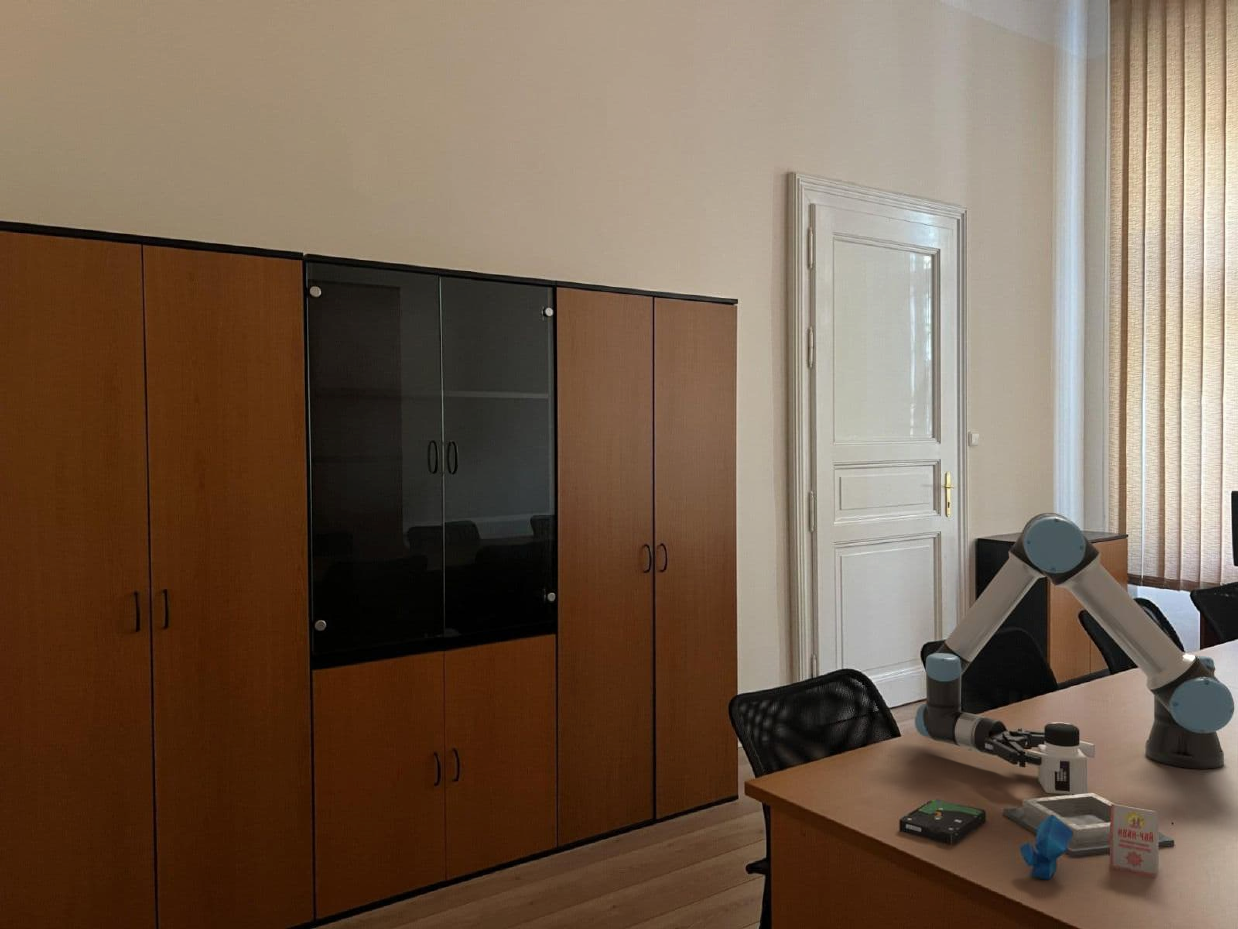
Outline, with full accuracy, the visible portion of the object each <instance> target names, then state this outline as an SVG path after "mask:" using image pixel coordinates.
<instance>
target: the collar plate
mask: <svg viewBox="0 0 1238 929" xmlns="http://www.w3.org/2000/svg"><path fill="white" fill-rule="evenodd" d="M1111 804H1115V802H1112V801H1110V800H1108V799H1106V798H1104V797H1102V796H1100V795H1098V794H1096V793H1095V792H1087V793H1086V794H1076V795H1072V794H1065V795H1059V796H1048V797H1037V798H1036V797H1035V798H1025V799H1022V807H1015V808H1005V809H1004V808H1003V809H1002V810H1003V811H1002V813H1003V814H1002V815H1004V816H1005V817H1007V818H1008V819H1010V820H1012V821H1013V822H1015V823H1016V824H1018V825H1019V826H1021V827H1022V828H1025V830H1027V831H1030V832H1032V833H1033V834H1034V835H1036V836H1037V830H1038V826H1039V825H1040V824H1041V823H1042V822H1043V821H1044V820H1046V819H1047V818H1048V817H1049V816H1050V815H1054V816H1055V817H1057V818H1058V819H1059V820H1060V821H1061V822H1062V823H1064V824H1065V825H1066V826H1067V827H1068V828H1070V829H1071V830H1072V831H1073V835H1072V837H1071V840H1070V842H1069V844H1068V846H1067V848H1066V850H1065V852H1064V854H1065V853H1066V854H1068V855H1069V856H1070V857H1072V858H1077V857H1084V856H1097V855H1105V854H1110V819H1111ZM1158 841H1159V848H1166V847H1167V848H1168V847H1174V846H1175V839H1173V838H1171V837H1170V836H1168V835H1165V834H1163V833H1161V832H1159V831H1158Z"/></svg>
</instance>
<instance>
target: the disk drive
mask: <svg viewBox="0 0 1238 929" xmlns="http://www.w3.org/2000/svg"><path fill="white" fill-rule="evenodd" d="M986 812H987V811H986V810H984V809H980V808H977V807H972V806H968V805H965V804H961V803H953V802H948V801H944V800H940V798H935V799H932V800H929V801H927V802H925V804H923V805H921V806H919V807H918V808H916V809H915V810H913V811H911V812H909V813H907V814H906V815H904V816H902V817H901V818H900V819H899V821H898V823H899V829H898V831H899V832H901V833H904V834H905V833H906V834H909V835H912V836H916V837H918V838H919V837H920V838H922V839H927V840H930V841H934V842H937V843H941V844H945V845H948V846H954V845H956V844H957V843H959V842H960V841H961V840H962V839H963V838H965V837H967V836H968V835H969V834H970V833H972V832H973V831H975V830H977V829H978V828H980V827H981V826H983V825H984V824H985V823H987V822H986V821H987V820H986V819H987V818H986V817H987V814H986Z"/></svg>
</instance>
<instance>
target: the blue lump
mask: <svg viewBox="0 0 1238 929" xmlns="http://www.w3.org/2000/svg"><path fill="white" fill-rule="evenodd" d="M1072 835H1073V831H1072V830H1071V829H1070V828H1068V827H1067V826H1066V825H1065V824H1064V823H1062V822H1061V821H1060V820H1059V819H1058V818H1057V817H1055V816H1054V815H1050V816H1049V817H1048V818H1047V819H1046V820H1044V821H1043V822H1042V823H1041V824H1040V825H1039V826H1038V830H1037V835H1036V838H1035V845H1034V847H1035V849H1034V847H1033V845H1032V843H1030V842H1028V843H1025V844H1022V845H1020V846H1019V851H1020V852H1021V855H1022V857H1023V860H1024V862H1025V863H1026V865H1027V867H1032V876H1033V877H1034V878H1038V879H1041V880H1042V879H1043V880H1046V881H1048V880H1049V879H1051V877H1052V875H1053V874H1054V872H1055V870H1056V869H1057V868H1058V864H1057V862H1058V859H1059V858H1060V857H1061V856H1062V855H1064V854H1065V850H1066V848H1067V846H1068V844H1069V842H1070V840H1071V837H1072Z"/></svg>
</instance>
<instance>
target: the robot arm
mask: <svg viewBox="0 0 1238 929" xmlns="http://www.w3.org/2000/svg"><path fill="white" fill-rule="evenodd" d="M1045 577H1046V578H1048V579H1049V581H1050V582H1051V583H1052V584H1053V585H1054V586H1055V587H1056V588H1057V587H1058V588H1064V589H1067V590H1068V591H1069V592H1070V593H1071V594H1072V595H1073V596H1074V598H1075V599H1076V600H1077V601H1078V602H1079V603H1080V604H1081V605H1082V607H1084V609H1085V610H1086V611H1087V612H1088V613H1089V614H1090V615H1091V617H1093V618H1094V620H1095V621H1096V622H1097V623H1098V624H1099V625H1100V627H1101V628H1103V629H1104V631H1105V632H1106V633H1107V634H1108V635H1109V637H1111V639H1113V640H1114V642H1115V643H1116V644H1117V645H1118V646H1119V647H1120V649H1122V651H1124V653H1125V654H1126V655H1127V656H1128V658H1130V659H1131V660H1132V662H1133V663H1134V664H1135V665H1136V666H1137V667H1138V668H1139V669H1140V670H1141V672H1142V673H1143V674H1144V675H1145V676H1146V685H1145V686H1146V687H1147V689H1148V690H1149V691H1150V692H1151V693H1152V694H1153V709H1154V710H1153V714H1154V716H1153V723H1152V726H1151V729H1150V733H1149V735H1148V739H1147V740H1146V741H1145V746H1144V747H1145V751H1144V752H1145V755H1146V756H1147V757H1148V758H1149V759H1151V760H1153V761H1155V762H1158V763H1161V764H1164V765H1169V766H1173V767H1179V768H1184V769H1185V768H1187V769H1195V770H1196V769H1198V770H1199V769H1201V770H1203V769H1204V770H1205V769H1206V770H1208V769H1216V768H1220V767H1222V766H1224V764H1225V753H1224V750H1223V748H1222V746H1221V743H1220V740H1219V736H1218V734H1217V731H1219V730H1222V729H1223V728H1225V727H1226V726H1227V725H1228V724H1229V723H1230V721H1231V720H1232V719H1233V716H1234V713H1235V701H1234V698H1233V694H1232V693H1231V690H1230V689H1229V688H1228V687H1227V686H1226V685H1225V683H1223V682H1221V681H1220V680H1219V679H1218V677H1216V676H1215V671H1216V667H1215V661H1214V659H1213V658H1211V657H1209V656H1203V655H1202V656H1201V655H1196V654H1194V653H1192V652H1184V651H1182V650H1181V649H1180V648H1179V647H1178V646H1177V645H1176V644H1175V643H1174V641H1172V639H1171V638H1169V636H1168V635H1167V634H1166V633H1165V632H1164V630H1162V629H1161V628H1160V626H1159V625H1158V624H1157V623H1156V622H1155V621H1154V620H1153V619H1152V618H1151V617H1150V616H1149V615H1148V614H1147V613H1146V611H1144V609H1143V608H1142V607H1141V606H1140V605H1139V604H1138V602H1136V600H1135V599H1133V597H1132V596H1131V595H1130V594H1129V593H1128V592H1127V590H1125V589H1124V588H1123V587H1122V585H1121V584H1120V583H1119V582H1118V581H1117V580H1116V579H1115V578H1114V577H1113V576H1112V575H1111V573H1110V572H1109V571H1108V570H1107V569H1106V568H1105V567H1104V566H1103V565H1102V564H1101V552H1100V551H1099V550H1098V549H1097V547H1096V546H1095V545H1093V543H1092V542H1091V541H1090V540H1089V539H1088V538H1087V537H1086V535H1084V534H1083V532H1082V530H1081V529H1080V527H1079V526H1078V525H1077V524H1076V523H1074V522H1073V521H1072V520H1070V519H1068V518H1067V517H1065V516H1064V515H1061V514H1059V513H1054V512H1044V513H1043V512H1042V513H1039V514H1038V515H1037V514H1036V515H1035V516H1033V517H1032V518H1031V519H1029V521H1028V522H1026V524H1025V525H1024V526H1023V529H1022V531H1021V533H1020V534H1019V536H1018V537H1017V539H1016V541H1015V542H1014V544H1013V545H1012V547H1011V548H1010V549H1009V550H1008V559H1007V560H1006V562H1005V563H1004V564H1003V566H1002V567H1001V568H1000V569H999V571H998V572H997V573H996V574H995V576H994V577H993V579H992V580H991V581H990V582H989V584H988V585H987V586H986V588H985V589H984V590H983V592H982V593H981V594H980V595H979V597H978V598H977V599H976V601H975V602H974V603H973V604H972V606H971V607H970V608H969V610H968V611H967V612H966V614H965V615H964V616H963V617H962V619H961V620H960V621H959V622H958V624H957V625H956V626H955V628H953V630H952V631H951V633H950V634H949V635H948V637H947V638H946V639H945V641H944V642H943V643H942V645H941V646H940V647H939V648H938V650H936V651H935V652H934V653H931V654H929V655H928V656H927V657H925V658H926V659H925V669H924V670H925V685H926V686H925V687H926V688H925V690H926V691H925V692H926V699H925V700H926V702H925V703H923V704H921V705H920V706H919V707H918V708H917V710H916V712H915V713H916V716H914V726H915V729H916V731H917V733H919V734H920V735H921V736H923V737H926V738H929V739H931V740H933V741H935V742H936V741H937V742H941V743H946V744H950V745H954V746H958V747H962V748H966V749H967V750H968V752H973V751H979V752H980V753H983V754H987V755H989V756H990V755H992V756H996V757H998V758H1001V759H1002V760H1004V761H1005V762H1008V763H1010V764H1011V765H1015V766H1016V765H1018V763H1019V768H1026V766H1027V765H1030V766H1034V767H1037V768H1038V767H1041V768H1045V769H1049V770H1053V771H1056V772H1059V771H1060V757H1056V756H1052V755H1048V754H1044V753H1040V752H1038V751H1035V750H1031V749H1032V748H1036V749H1038V745H1045V744H1044V730H1043V731H1041V730H1034V729H1033V730H1032V729H1026V728H1022V727H1019V728H1017V729H1009V730H1008V729H1007V727H1006V725H1005V723H1004V722H1003V721H1001V720H999V719H996V718H990V717H985V716H983V715H979V714H976V713H975V714H974V713H969V712H965V711H962V702H961V701H962V700H961V698H962V675H963V674H964V673H965V671H966V670H968V667H969V666H970V665H971V664H972V662H973V661H974V660H975V658H976V657H977V655H978V654H979V653H980V652H981V650H982V649H983V648H984V647H985V645H986V644H987V643H988V642H989V640H990V639H991V638H992V637H993V636H994V634H995V633H996V632H997V630H998V629H999V628H1000V627H1001V625H1002V624H1004V622H1005V621H1006V619H1007V618H1008V617H1009V615H1010V614H1011V613H1013V611H1014V609H1015V608H1016V606H1018V604H1019V603H1020V602H1021V600H1022V599H1023V598H1024V596H1025V595H1026V594H1027V593H1028V591H1029V590H1030V589H1031V587H1032V586H1034V584H1035V583H1036V582H1037V581H1038V579H1040V578H1045ZM1079 749H1080V751H1081V752H1082V753H1083V754H1084V755H1085V756H1086V758H1090V759H1094V758H1095V756H1096V754H1095V753H1096V752H1095V751H1096V750H1095V749H1096V747H1095V743H1091V742H1086V741H1084V740H1083V741H1082V740H1080V748H1079ZM1026 764H1027V765H1026Z"/></svg>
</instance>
